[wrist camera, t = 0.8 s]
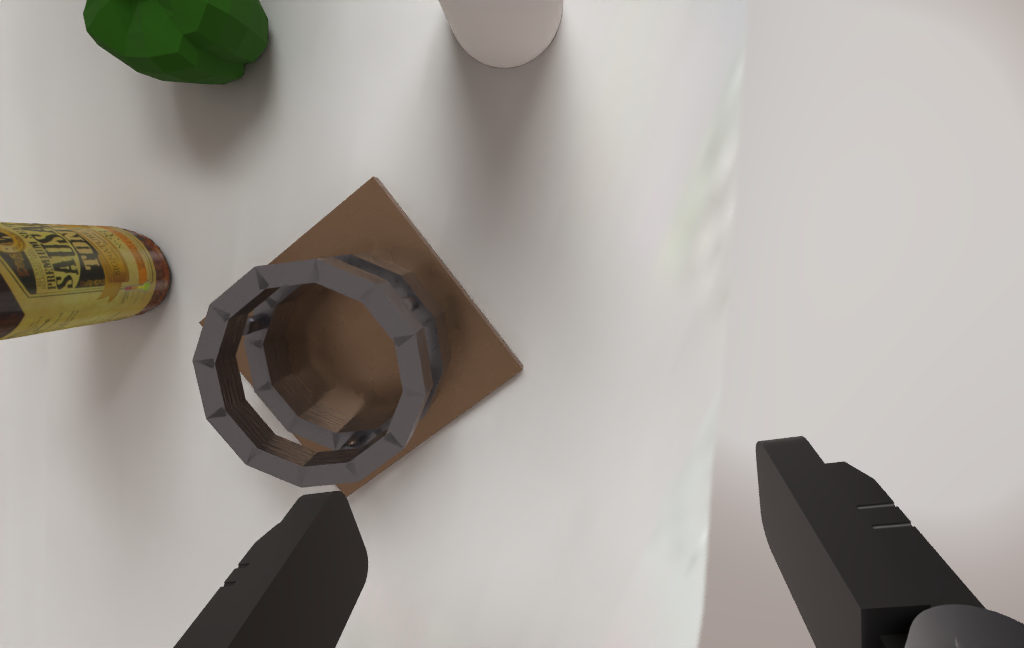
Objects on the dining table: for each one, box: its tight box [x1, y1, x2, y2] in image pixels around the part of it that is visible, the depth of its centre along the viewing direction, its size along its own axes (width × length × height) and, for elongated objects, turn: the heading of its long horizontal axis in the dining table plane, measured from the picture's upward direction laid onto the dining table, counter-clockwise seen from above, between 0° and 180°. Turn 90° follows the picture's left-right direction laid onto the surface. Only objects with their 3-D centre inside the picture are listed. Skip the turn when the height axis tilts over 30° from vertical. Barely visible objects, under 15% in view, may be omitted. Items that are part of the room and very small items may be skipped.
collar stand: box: [193, 177, 523, 497], centre depth 33 cm, size 16×16×9 cm
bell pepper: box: [83, 0, 268, 84], centre depth 30 cm, size 8×8×10 cm
